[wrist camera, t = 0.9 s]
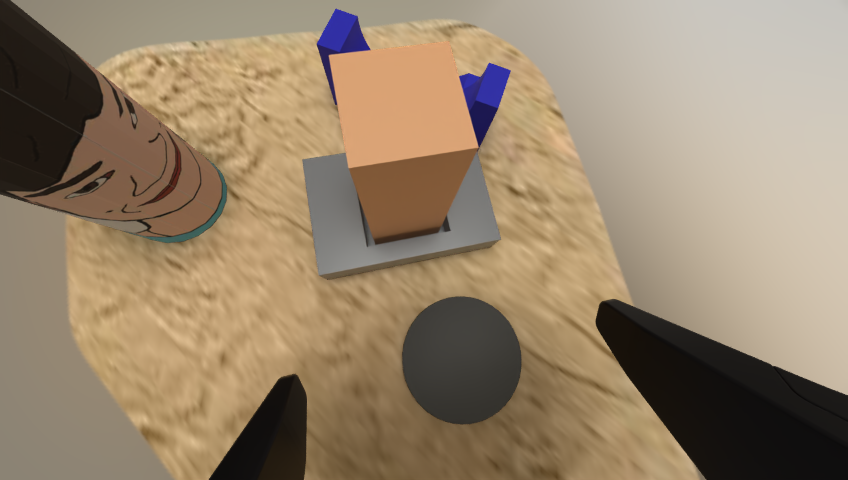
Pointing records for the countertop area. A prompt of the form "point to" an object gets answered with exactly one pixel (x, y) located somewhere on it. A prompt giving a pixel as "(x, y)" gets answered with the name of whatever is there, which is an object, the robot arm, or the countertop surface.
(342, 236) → the socket block
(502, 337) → the coaster
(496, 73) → the cable clip
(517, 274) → the countertop surface
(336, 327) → the countertop surface
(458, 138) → the tan rectangular block
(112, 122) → the cup
